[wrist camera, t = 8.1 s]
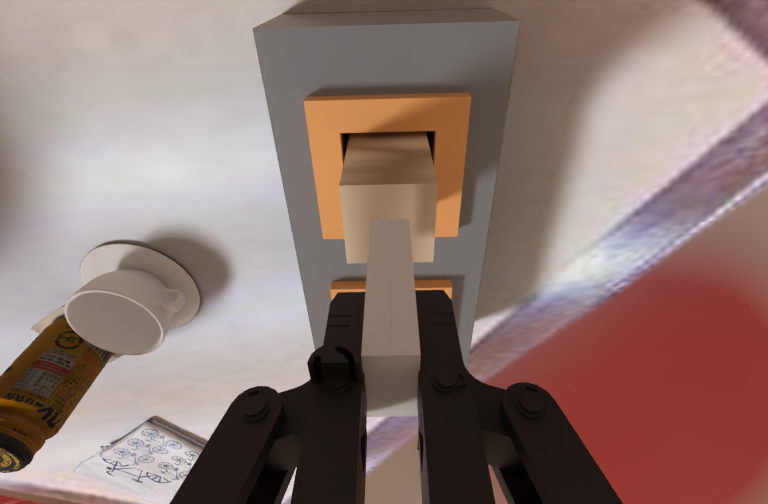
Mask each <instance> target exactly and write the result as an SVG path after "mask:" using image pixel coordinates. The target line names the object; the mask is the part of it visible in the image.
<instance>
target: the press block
mask: <svg viewBox="0 0 768 504" xmlns="http://www.w3.org/2000/svg"><path fill="white" fill-rule="evenodd" d="M519 27H520V20H518V19H515V18H513V17H511V16H509V15H506V14H504V13H502V12H499V11H497V10H495V9H493V8H477V9H444V10H411V11H378V12H344V13H311V14H281V15H279V16H277V17H275V18H273V19H271V20H269V21H267V22H265V23H263V24H261V25H259V26H257V27H255V28H253V33H254V38H255V43H256V48H257V53H258V59H259V64H260V69H261V74H262V79H263V84H264V89H265V95H266V100H267V105H268V110H269V115H270V120H271V125H272V131H273V136H274V141H275V146H276V151H277V156H278V161H279V167H280V172H281V177H282V182H283V187H284V192H285V197H286V203H287V208H288V213H289V218H290V223H291V228H292V233H293V239H294V244H295V249H296V254H297V259H298V264H299V269H300V275H301V280H302V285H303V290H304V295H305V300H306V305H307V311H308V316H309V321H310V326H311V331H312V336H313V341H314V347H315V350H316V349H317V348H319V347H321V346H323V343H324V337H325V331H326V325H327V319H328V313H329V307H330V303H331V301H332V300H333V299H334V297H335V296H336V294H337V293H338V292H365V291H366V276H367V263H349V264H347V258H346V249H345V239H344V229H343V219H342V210H341V200H340V190H339V183H340V179H341V174H342V169H343V164H344V160H345V155H346V150H347V146H348V141H349V136H350V133H367V132H409V131H426V134H427V139H428V143H429V147H430V152H431V156H432V160H433V164H434V169H435V173H436V177H437V182H438V190H437V207H436V224H435V241H434V258H433V262H413V270H414V282H415V290H444V291H445V293H446V294H447V295H448V296H449V298H450V299H451V300H452V305H453V310H454V316H455V321H456V326H457V331H458V337H459V342H460V347H461V352H462V358H463V362H464V365H465V367H466V369H467V366H468V359H469V353H470V346H471V340H472V333H473V327H474V320H475V314H476V307H477V301H478V294H479V287H480V281H481V274H482V268H483V261H484V255H485V248H486V242H487V235H488V229H489V222H490V216H491V209H492V203H493V196H494V190H495V183H496V177H497V170H498V164H499V157H500V150H501V144H502V137H503V131H504V124H505V118H506V111H507V105H508V98H509V92H510V85H511V79H512V72H513V66H514V59H515V53H516V46H517V40H518V33H519Z"/></svg>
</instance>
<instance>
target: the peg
mask: <svg viewBox="0 0 768 504" xmlns="http://www.w3.org/2000/svg"><path fill="white" fill-rule="evenodd" d="M339 190H340V200H341V210H342V219H343V229H344V239H345V249H346V258H347V264H349V263H367V261H368V246H369V231H370V219H409V223H410V235H411V247H412V259H413V262H433V258H434V241H435V224H436V207H437V190H438V182H437V177H436V173H435V169H434V164H433V160H432V156H431V152H430V147H429V143H428V139H427V134H426V131H409V132H367V133H350V136H349V141H348V146H347V150H346V155H345V160H344V164H343V169H342V174H341V179H340V183H339Z"/></svg>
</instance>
